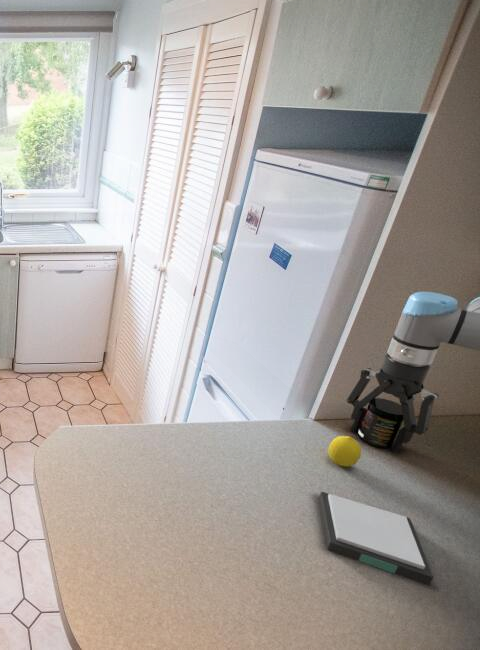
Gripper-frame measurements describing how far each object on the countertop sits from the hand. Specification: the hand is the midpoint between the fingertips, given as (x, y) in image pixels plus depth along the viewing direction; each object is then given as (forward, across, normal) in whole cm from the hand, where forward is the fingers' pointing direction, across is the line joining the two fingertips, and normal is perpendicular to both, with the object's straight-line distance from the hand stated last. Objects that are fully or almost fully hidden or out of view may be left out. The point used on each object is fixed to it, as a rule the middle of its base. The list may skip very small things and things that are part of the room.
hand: (374, 440), depth 111 cm
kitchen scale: (0, +14, -34) cm, 37 cm away
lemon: (0, 0, -17) cm, 17 cm away
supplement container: (0, 0, 0) cm, 0 cm away
